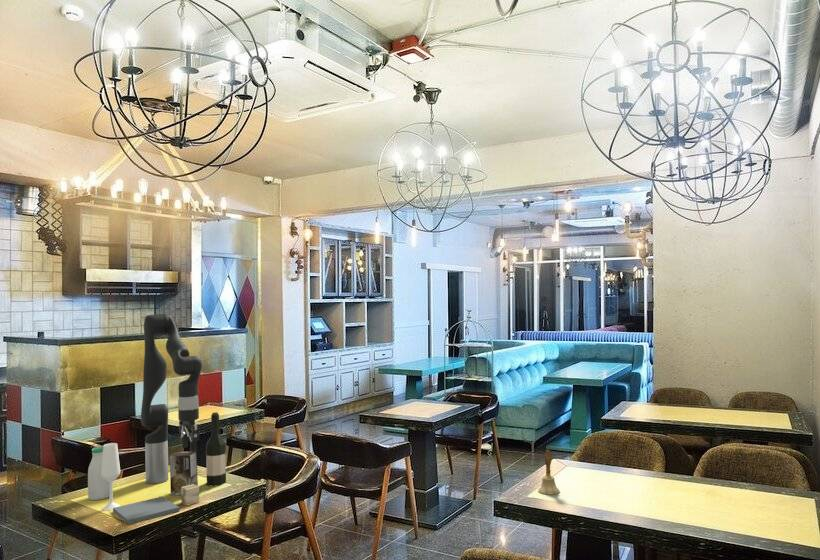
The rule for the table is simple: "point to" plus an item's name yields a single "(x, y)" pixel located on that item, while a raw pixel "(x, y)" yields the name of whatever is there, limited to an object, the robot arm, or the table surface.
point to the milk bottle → (97, 477)
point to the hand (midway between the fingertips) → (189, 449)
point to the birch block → (190, 494)
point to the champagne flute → (110, 470)
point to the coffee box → (183, 470)
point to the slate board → (145, 510)
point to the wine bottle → (215, 454)
